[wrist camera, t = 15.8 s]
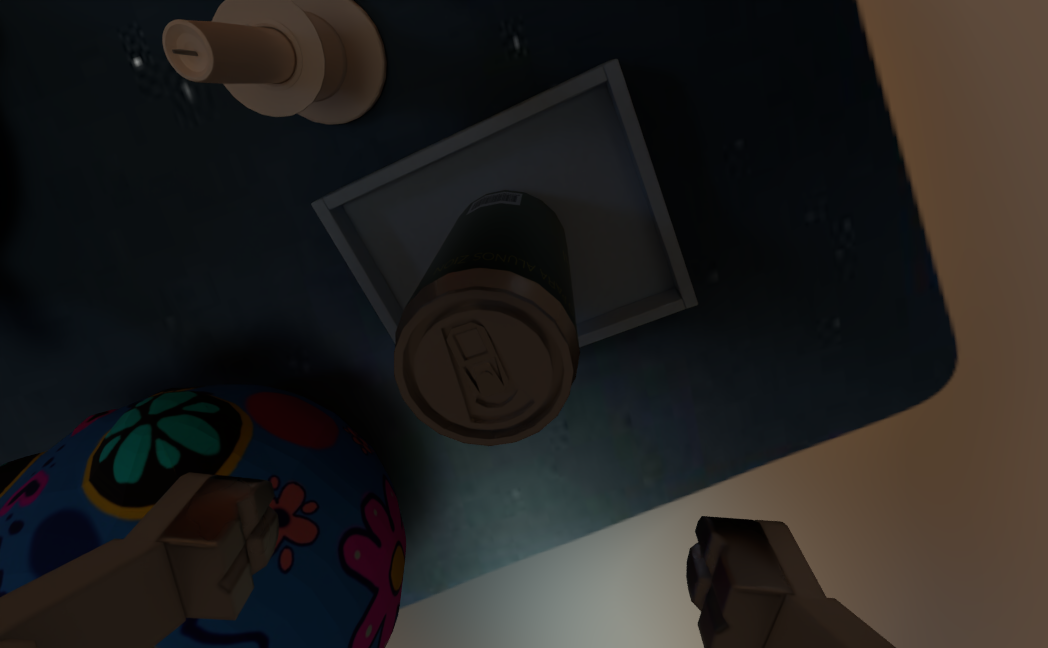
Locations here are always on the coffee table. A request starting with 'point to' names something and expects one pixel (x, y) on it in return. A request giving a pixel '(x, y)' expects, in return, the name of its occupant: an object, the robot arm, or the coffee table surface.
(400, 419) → the coffee table surface
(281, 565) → the ceramic pot
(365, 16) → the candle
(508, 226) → the beer can
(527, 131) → the gray tray
